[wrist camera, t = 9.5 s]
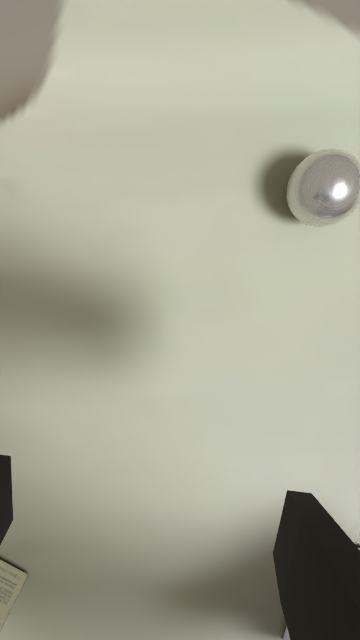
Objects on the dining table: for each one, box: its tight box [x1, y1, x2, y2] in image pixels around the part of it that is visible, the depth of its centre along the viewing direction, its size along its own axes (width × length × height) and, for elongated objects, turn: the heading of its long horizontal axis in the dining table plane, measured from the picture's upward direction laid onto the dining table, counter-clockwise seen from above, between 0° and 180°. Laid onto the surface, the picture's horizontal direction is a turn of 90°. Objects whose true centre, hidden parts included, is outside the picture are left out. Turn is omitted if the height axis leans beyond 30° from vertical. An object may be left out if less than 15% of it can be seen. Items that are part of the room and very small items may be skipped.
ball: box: [286, 149, 360, 227], centre depth 14 cm, size 3×3×3 cm
